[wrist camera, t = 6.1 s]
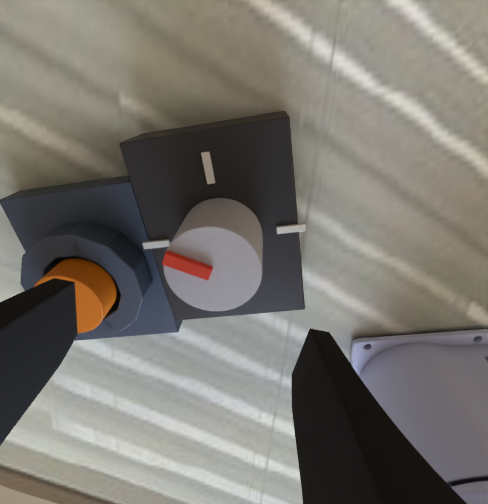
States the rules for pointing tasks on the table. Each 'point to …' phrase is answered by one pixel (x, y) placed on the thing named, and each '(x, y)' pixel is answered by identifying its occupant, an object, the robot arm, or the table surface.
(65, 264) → the button
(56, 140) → the table surface
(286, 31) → the table surface
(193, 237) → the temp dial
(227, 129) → the dial panel
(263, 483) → the table surface
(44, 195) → the button base
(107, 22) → the table surface
